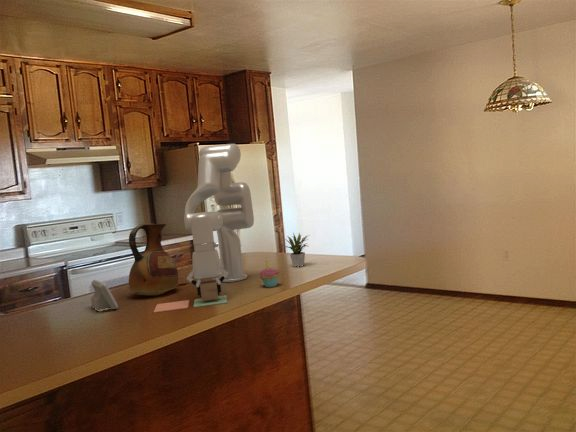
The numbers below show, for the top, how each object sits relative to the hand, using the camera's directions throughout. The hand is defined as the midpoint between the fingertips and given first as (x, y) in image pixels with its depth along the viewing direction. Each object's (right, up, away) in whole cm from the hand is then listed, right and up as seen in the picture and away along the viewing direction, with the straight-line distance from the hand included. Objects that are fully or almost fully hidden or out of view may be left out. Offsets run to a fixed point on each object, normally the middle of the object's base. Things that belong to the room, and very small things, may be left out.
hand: (209, 295), depth 192 cm
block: (0, -1, 0) cm, 1 cm away
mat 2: (0, -2, 0) cm, 2 cm away
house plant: (+35, +5, +54) cm, 65 cm away
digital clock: (-41, -6, +7) cm, 42 cm away
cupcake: (+22, +1, +17) cm, 28 cm away
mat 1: (-14, -4, -2) cm, 14 cm away
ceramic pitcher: (-26, -3, +25) cm, 36 cm away
